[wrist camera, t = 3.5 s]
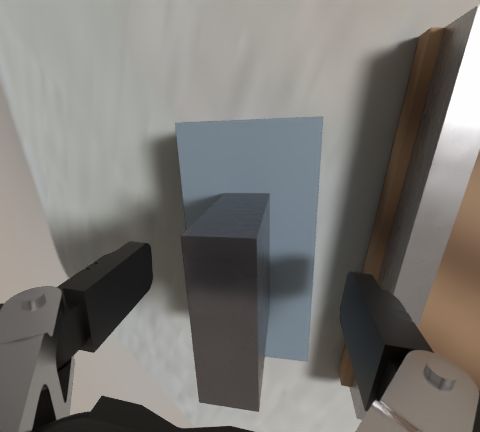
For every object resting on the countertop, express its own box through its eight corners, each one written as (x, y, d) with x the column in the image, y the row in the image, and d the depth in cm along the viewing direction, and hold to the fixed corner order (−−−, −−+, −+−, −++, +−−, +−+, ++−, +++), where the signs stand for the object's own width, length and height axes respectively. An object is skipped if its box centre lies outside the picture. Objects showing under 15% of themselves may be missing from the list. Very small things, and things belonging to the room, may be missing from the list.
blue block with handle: (204, 125, 15) (89, 116, 6) (313, 120, 14) (354, 103, 5) (216, 303, 18) (155, 451, 10) (303, 311, 17) (318, 484, 9)
